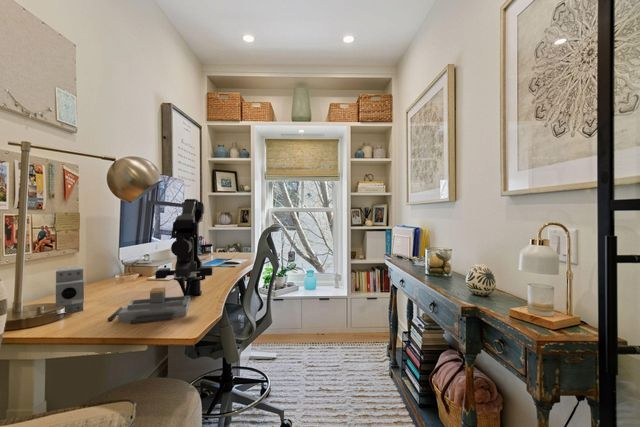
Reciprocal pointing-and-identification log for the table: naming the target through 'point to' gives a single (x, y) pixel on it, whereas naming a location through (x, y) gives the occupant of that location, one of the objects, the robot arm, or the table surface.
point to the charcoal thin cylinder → (150, 319)
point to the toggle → (157, 295)
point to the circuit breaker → (70, 288)
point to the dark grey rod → (114, 314)
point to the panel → (155, 308)
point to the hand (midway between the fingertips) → (185, 295)
